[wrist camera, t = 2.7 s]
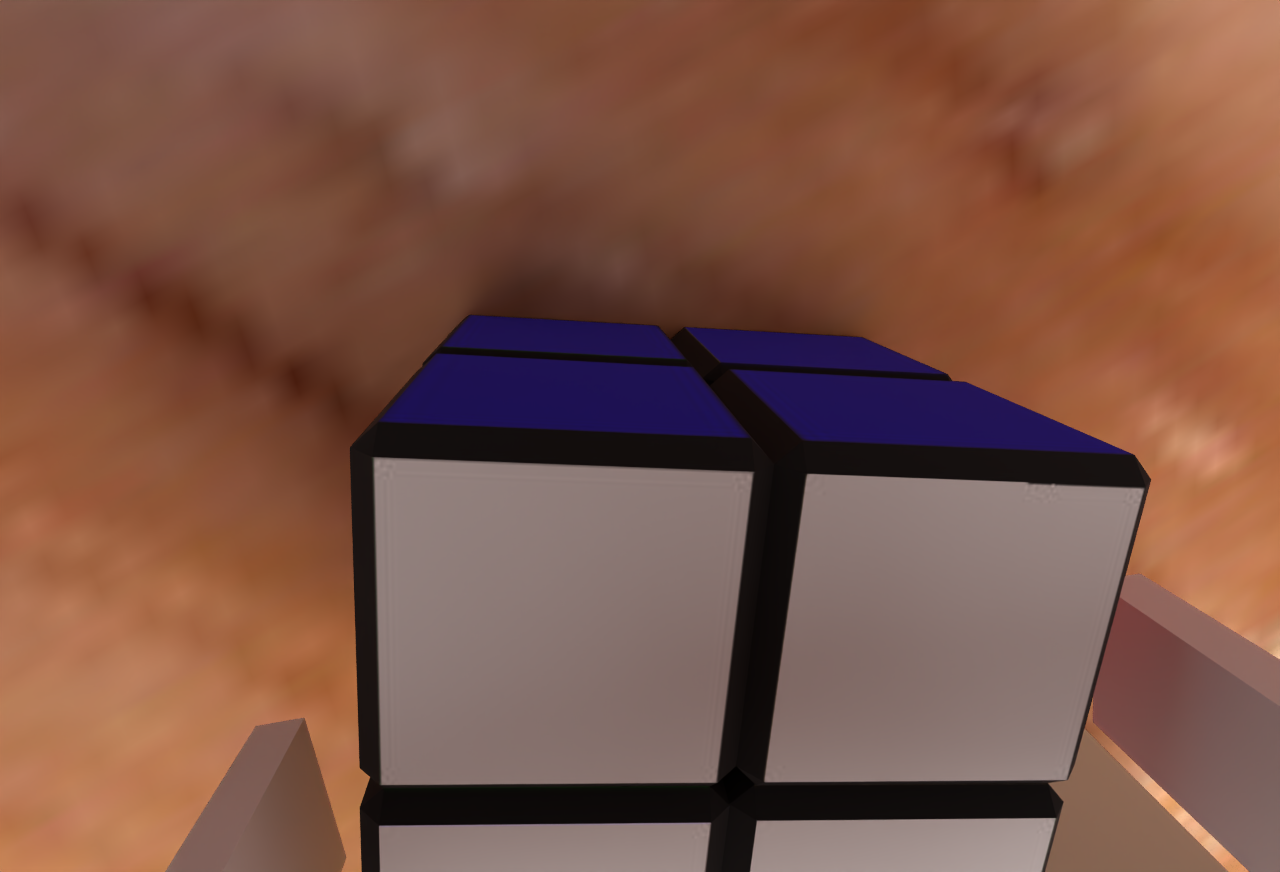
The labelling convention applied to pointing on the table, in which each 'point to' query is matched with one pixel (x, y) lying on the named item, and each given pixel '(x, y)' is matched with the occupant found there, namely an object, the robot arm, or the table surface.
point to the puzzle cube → (722, 606)
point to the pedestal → (1118, 823)
